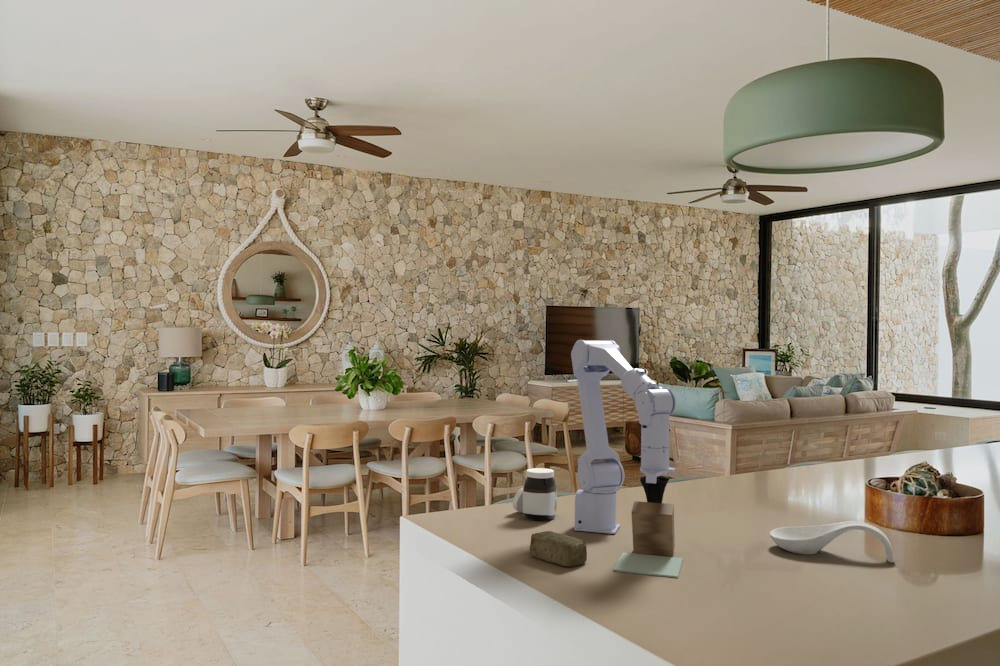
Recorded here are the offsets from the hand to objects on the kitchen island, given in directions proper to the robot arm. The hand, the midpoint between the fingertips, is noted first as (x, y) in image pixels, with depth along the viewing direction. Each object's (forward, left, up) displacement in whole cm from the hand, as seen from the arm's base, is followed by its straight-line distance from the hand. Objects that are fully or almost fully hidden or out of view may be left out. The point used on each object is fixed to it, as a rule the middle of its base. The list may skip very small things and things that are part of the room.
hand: (654, 512), depth 154 cm
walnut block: (0, 0, -8) cm, 8 cm away
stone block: (-18, -11, -9) cm, 23 cm away
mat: (0, -9, -8) cm, 12 cm away
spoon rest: (+35, +12, -9) cm, 38 cm away
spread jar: (-32, +22, -9) cm, 40 cm away
